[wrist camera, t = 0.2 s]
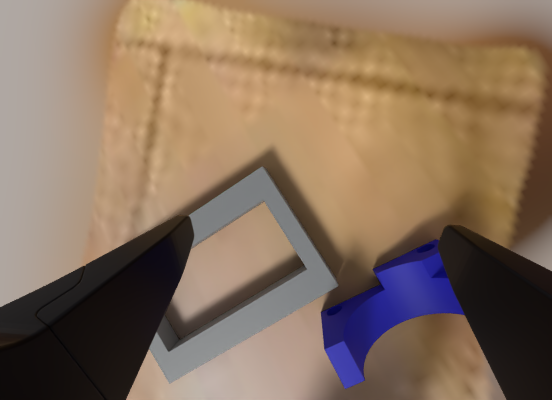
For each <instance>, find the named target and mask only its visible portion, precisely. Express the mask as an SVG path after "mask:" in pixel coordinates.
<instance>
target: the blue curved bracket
mask: <svg viewBox="0 0 552 400" xmlns="http://www.w3.org/2000/svg"><path fill="white" fill-rule="evenodd" d="M438 242H439V240H437V239H435V240H433V241H431V242H429V243H427V244H425V245H423V246H421V247H419V248H416V249H414V250H412V251H410V252H408V253H406V254H404V255H402V256H400V257H398V258H395V259H393V260H391V261H389V262H387V263H385V264H383V265H381V266H379V267H377V268H374V269H373V271H374V273H375V275H376V277H377V278H378V280H379V282H380V285H378V286H376V287H374V288H372V289H370V290H368V291H365V292H363V293H361V294H359V295H357V296H355V297H353V298H350V299H348V300H346V301H344V302H342V303H340V304H338V305H335V306H333V307H331V308H329V309H327V310H325V311H323V312H321V318H322V329H323V339H324V349H325V351H326V353H327V355H328V357H329V359H330V361H331V363H332V365H333V367H334V369H335V370H336V372H337V374H338V376H339V378H340V380H341V382H342V384H343V386H344V388H345V389H346V388H349V387H351V386H353V385H356V384H358V383H360V382H363V381H365V379H364V371H363V369H364V362H365V358H366V355H367V353H368V351H369V349H370V348H371V346H372V345H373V343H374V342H375V341H376V340H377V339H378V338H379V337H380V336H381V335H382V334H383V333H385V332H386V331H387V330H389V329H390V328H392V327H394V326H395V325H397V324H399V323H401V322H403V321H406V320H409V319H411V318H415V317H418V316H422V315H428V314H436V313H453V314H462V315H465V314H464V312H463V310H462V308H461V306H460V304H459V302H458V300H457V298H456V296H455V294H454V292H453V289H452V287H451V284H450V282H449V279H448V276H447V274H446V271H445V268H444V265H443V262H442V260H441V257H440V254H439V251H438Z"/></svg>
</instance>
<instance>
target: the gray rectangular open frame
mask: <svg viewBox="0 0 552 400" xmlns="http://www.w3.org/2000/svg"><path fill="white" fill-rule="evenodd" d="M263 202H265V203H266V205H267V206H268V208H269V210H270V211H271V213H272V214H273V216H274V218H275V219H276V221H277V222H278V224H279V225H280V227H281V229H282V230H283V232H284V233H285V235H286V237H287V238H288V240H289V241H290V243H291V244H292V246H293V248H294V249H295V251H296V252H297V254H298V256H299V257H300V259H301V260H302V262H303V263H304V266H302V267H300V268H299V269H297V270H295V271H294V272H292V273H290V274H289V275H287V276H285V277H284V278H282V279H280V280H279V281H277V282H275V283H274V284H272V285H270V286H269V287H267V288H265V289H264V290H262V291H260V292H259V293H257V294H255V295H254V296H252V297H250V298H249V299H247V300H245V301H244V302H242V303H240V304H239V305H237V306H235V307H234V308H232V309H230V310H229V311H227V312H225V313H224V314H222V315H220V316H219V317H217V318H215V319H214V320H212V321H210V322H209V323H207V324H205V325H204V326H202V327H200V328H199V329H197V330H195V331H194V332H192V333H190V334H189V335H187V336H185V337H184V338H182V339H180V340H179V339H178V337H177V335H176V333H175V332H174V330H173V328H172V327H171V325H170V323H169V322H168V320H167V318H166V316H165V315H164V317H163V319H162V321H161V323H160V326H159V328H158V330H157V332H156V334H155V337H154V339H153V341H152V343H151V345H150V348H149V349H150V351H151V353H152V354H153V356H154V358H155V360H156V361H157V363H158V365H159V366H160V368H161V370H162V372H163V373H164V375H165V377H166V378H167V380H168V382H169V384H170V383H172V382H173V381H175V380H177V379H179V378H180V377H182V376H184V375H185V374H187V373H189V372H191V371H192V370H194V369H196V368H198V367H199V366H201V365H203V364H205V363H206V362H208V361H210V360H211V359H213V358H215V357H217V356H218V355H220V354H222V353H224V352H225V351H227V350H229V349H230V348H232V347H234V346H236V345H237V344H239V343H241V342H243V341H244V340H246V339H248V338H249V337H251V336H253V335H255V334H256V333H258V332H260V331H262V330H263V329H265V328H267V327H268V326H270V325H272V324H274V323H275V322H277V321H279V320H281V319H282V318H284V317H286V316H287V315H289V314H291V313H293V312H294V311H296V310H298V309H300V308H301V307H303V306H305V305H307V304H308V303H310V302H312V301H313V300H315V299H317V298H319V297H320V296H322V295H324V294H326V293H327V292H329V291H331V290H332V289H334V288H336V287H338V286H339V285H338V282H337V279H336V277H335V276H334V274H333V273H332V271H331V269H330V268H329V266H328V265H327V263H326V262H325V260H324V259H323V257H322V255H321V254H320V252H319V251H318V249H317V248H316V246H315V244H314V243H313V241H312V240H311V238H310V237H309V235H308V233H307V232H306V230H305V229H304V227H303V226H302V224H301V222H300V221H299V219H298V218H297V216H296V215H295V213H294V211H293V210H292V208H291V207H290V205H289V204H288V202H287V201H286V199H285V197H284V196H283V194H282V193H281V191H280V190H279V188H278V186H277V185H276V183H275V182H274V180H273V179H272V177H271V175H270V174H269V172H268V171H267V169H266V168H264V167H263V166H262V167H260V168H259V169H257V170H256V171H254V172H253V173H251V174H250V175H248V176H247V177H245V178H244V179H242V180H241V181H239V182H238V183H236V184H235V185H233V186H232V187H230V188H229V189H227V190H226V191H224V192H223V193H221V194H220V195H218V196H217V197H216V198H214V199H213V200H211V201H210V202H208V203H207V204H205V205H204V206H202V207H201V208H199V209H198V210H196V211H195V212H193V213H192V214H190V215H189V217H190V218H191V221H192V226H193V230H194V241H193V244H192V247H191V249H192V248H193V247H195V246H196V245H198V244H199V243H201V242H202V241H204V240H206V239H207V238H209V237H210V236H212V235H213V234H215V233H216V232H218V231H219V230H221V229H223V228H224V227H226V226H227V225H229V224H230V223H232V222H233V221H235V220H236V219H238V218H240V217H241V216H243V215H244V214H246V213H247V212H249V211H250V210H252V209H253V208H255V207H257V206H258V205H260V204H261V203H263Z"/></svg>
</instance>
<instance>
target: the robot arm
mask: <svg viewBox="0 0 552 400" xmlns="http://www.w3.org/2000/svg"><path fill="white" fill-rule="evenodd" d="M193 241H194V230H193V226H192V221H191V218H190V217H189V216H187V215H178V216H176V217H174V218H172V219H170V220H168V221H166V222H165V223H163V224H161V225H159V226H157V227H155V228H153V229H152V230H150V231H148V232H146V233H144V234H142V235H140V236H138V237H137V238H135V239H133V240H131V241H129V242H127V243H125V244H123V245H122V246H120V247H118V248H116V249H114V250H112V251H110V252H109V253H107V254H105V255H103V256H101V257H99V258H97V259H95V260H94V261H92V262H90V263H88V264H86V266H82V267H80V268H79V269H77V270H75V271H73V272H71V273H69V274H67V275H65V276H64V277H61V278H60V279H58V280H56V281H54V282H52V283H50V284H48V285H46V286H43V287H42V288H39V289H37V290H35V291H33V292H31V293H29V294H27V295H25V296H23V297H21V298H19V299H16V300H14V301H12V302H10V303H8V304H6V305H4V306H2V307H0V400H126V398H127V396H128V394H129V392H130V389H131V387H132V385H133V383H134V381H135V378H136V376H137V374H138V372H139V370H140V367H141V365H142V363H143V361H144V359H145V356H146V354H147V352H148V350H149V348H150V345H151V343H152V341H153V339H154V337H155V334H156V332H157V330H158V328H159V326H160V323H161V321H162V319H163V317H164V315H165V312H166V310H167V308H168V306H169V304H170V301H171V299H172V297H173V295H174V293H175V290H176V288H177V286H178V284H179V282H180V279H181V277H182V274H183V272H184V269H185V266H186V263H187V259H188V256H189V253H190V250H191V247H192V244H193ZM438 251H439V254H440V257H441V260H442V262H443V265H444V268H445V271H446V274H447V276H448V279H449V282H450V284H451V287H452V289H453V292H454V294H455V296H456V298H457V300H458V302H459V304H460V306H461V308H462V310H463V312H464V314H465V316H466V318H467V320H468V322H469V324H470V327H471V329H472V331H473V333H474V335H475V337H476V339H477V341H478V343H479V345H480V347H481V349H482V351H483V353H484V355H485V357H486V359H487V361H488V363H489V365H490V367H491V369H492V371H493V373H494V375H495V377H496V379H497V381H498V383H499V385H500V387H501V389H502V391H503V393H504V395H505V397H506V400H552V271H550V270H548V269H546V268H544V267H542V266H540V265H538V264H536V263H534V262H532V261H530V260H528V259H526V258H524V257H522V256H520V255H518V254H516V253H514V252H513V251H511V250H509V249H507V248H505V247H503V246H501V245H499V244H497V243H495V242H493V241H491V240H489V239H487V238H485V237H483V236H481V235H479V234H477V233H475V232H473V231H471V230H469V229H467V228H465V227H463V226H460V225H447V226H445V228H444V230H443V232H442V235H441V237H440V240H439V242H438Z"/></svg>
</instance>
